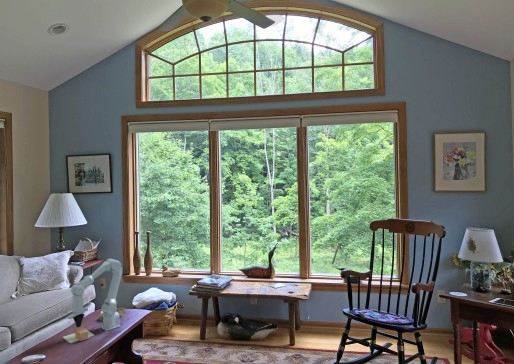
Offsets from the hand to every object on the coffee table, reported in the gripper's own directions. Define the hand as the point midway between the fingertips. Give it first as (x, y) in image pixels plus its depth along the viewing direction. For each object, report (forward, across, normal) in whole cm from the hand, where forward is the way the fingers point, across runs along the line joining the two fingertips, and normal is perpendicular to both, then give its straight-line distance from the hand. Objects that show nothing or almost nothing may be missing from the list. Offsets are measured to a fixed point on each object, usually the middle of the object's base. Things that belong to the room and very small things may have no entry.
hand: (78, 326), depth 227 cm
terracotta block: (+4, 0, 0) cm, 4 cm away
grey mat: (+6, 0, 0) cm, 6 cm away
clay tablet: (+7, +34, 0) cm, 35 cm away
